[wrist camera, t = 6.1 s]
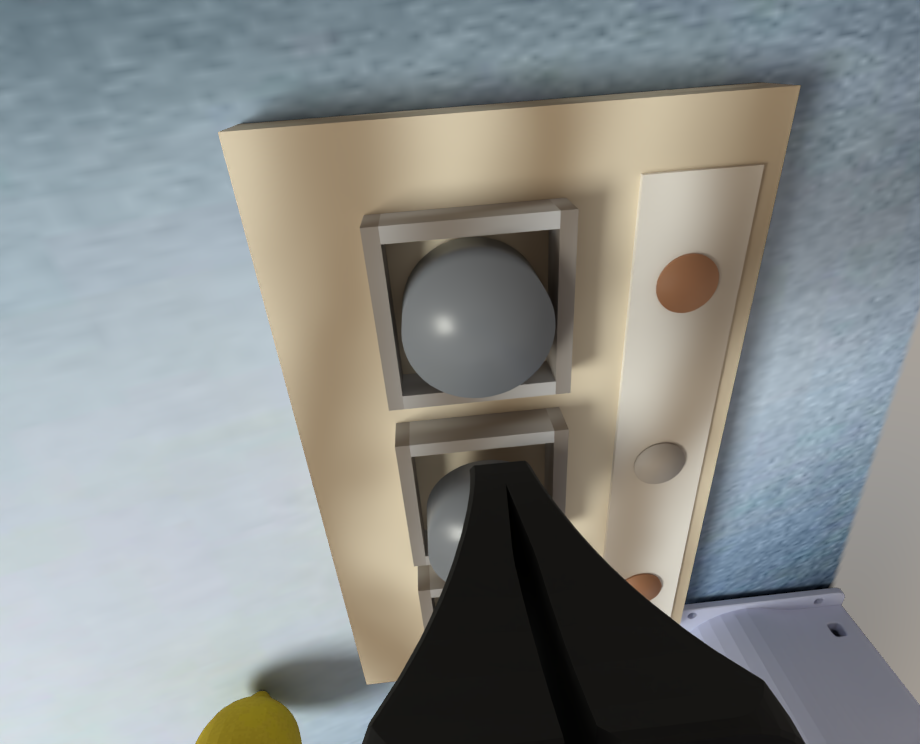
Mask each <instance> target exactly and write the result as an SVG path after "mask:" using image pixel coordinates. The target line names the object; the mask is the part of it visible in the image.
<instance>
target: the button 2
mask: <svg viewBox="0 0 920 744" xmlns="http://www.w3.org/2000/svg"><path fill="white" fill-rule="evenodd" d="M555 327H556V325H555V314H554V308H553V305H552V303H551V300H550V298H549V296H548V294H547V292H546V290H545V288H544V287H543V285H542V283H541V282H540V280H539V278H538V276H537V275H536V273H535V271H534V269H533V268H532V266H531V265H530V263H529V262H528V261H527V259H526V258H525V257H524V256H523V255H522V254H521V253H519V252H518V251H517V250H516V249H514V248H513V247H511V246H509V245H507V244H506V243H503V242H501V241H498V240H495V239H491V238H486V237H464V238H458V239H455V240H451V241H448V242H446V243H444V244H441V245H439V246H438V247H436V248H434V249H433V250H431V251H430V252H429V253H428V254H426V255H425V256H424V257H423V258H422V259H421V260H420V261H419V262H418V263H417V265H416V266H415V267H414V269H413V270H412V272H411V274H410V276H409V277H408V280H407V282H406V285H405V289H404V293H403V302H402V329H401V333H402V343H403V348H404V351H405V354H406V357H407V359H408V361H409V362H410V364H411V366H412V367H413V369H414V370H415V371H416V373H417V374H418V375H419V376H420V377H421V378H422V379H423V380H424V381H426V382H427V383H428V384H429V385H431V386H433V387H434V388H436V389H438V390H440V391H442V392H444V393H447V394H450V395H454V396H458V397H464V398H484V397H491V396H495V395H499V394H502V393H505V392H507V391H510V390H512V389H514V388H516V387H517V386H519V385H521V384H522V383H524V382H525V381H526V380H528V379H529V378H530V377H531V376H532V375H533V374H534V373H535V372H536V371H537V370H538V369H539V368H540V366H541V365H542V364H543V362H544V361H545V359H546V357H547V356H548V354H549V352H550V349H551V347H552V344H553V340H554V336H555Z"/></svg>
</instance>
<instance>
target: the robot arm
mask: <svg viewBox="0 0 920 744" xmlns="http://www.w3.org/2000/svg"><path fill="white" fill-rule="evenodd" d="M844 598H845V595H844V593H843V592H842V591H841V590H840V589H839V588H827V589H818V590H809V591H800V592H791V593H783V594H774V595H765V596H756V597H747V598H738V599H729V600H721V601H712V602H703V603H694V604H685V605H684V609H683V613H682V618H681V622H680V625H679V624H678V623H677V622H676V621H674V620H673V619H672V618H670V617H669V616H668V615H667V614H665V613H664V612H663V611H662V610H660V609H659V608H658V607H656V606H655V605H654V604H653V603H651V602H650V601H649V600H648V599H646V598H645V597H644V596H643V595H642V594H641V593H640V592H638V591H637V590H636V589H635V588H634V587H633V586H632V585H631V584H629V583H628V582H627V581H626V580H625V579H624V578H623V577H622V576H621V575H620V574H619V573H618V572H617V571H615V570H614V569H613V568H612V567H611V566H610V565H609V564H608V563H607V562H606V561H605V560H604V559H603V558H602V557H601V556H600V555H599V553H598V552H597V551H596V550H595V549H594V548H593V547H592V546H591V545H590V544H589V543H588V542H587V540H586V539H585V538H584V537H583V536H582V535H581V534H580V533H579V531H578V530H577V529H576V528H575V527H574V526H573V524H572V523H571V522H570V521H569V519H568V518H567V517H566V516H565V514H564V513H563V512H562V511H561V509H560V508H559V507H558V506H557V504H556V503H555V502H554V500H553V499H552V498H551V496H550V495H549V493H548V492H547V491H546V489H545V488H544V486H543V485H542V483H541V482H540V480H539V479H538V477H537V476H536V474H535V472H534V471H533V469H532V467H531V466H530V464H529V463H528V462H526V461H525V460H524V461H514V462H504V463H494V464H484V465H474V466H473V467H472V468H471V469H470V492H469V500H468V506H467V511H466V516H465V520H464V524H463V529H462V533H461V537H460V540H459V543H458V547H457V550H456V553H455V556H454V560H453V563H452V566H451V569H450V571H449V574H448V577H447V580H446V582H445V585H444V587H443V590H442V592H441V595H440V597H439V599H438V602H437V604H436V606H435V608H434V611H433V613H432V615H431V617H430V619H429V622H428V624H427V626H426V628H425V630H424V632H423V634H422V636H421V638H420V640H419V642H418V643H417V645H416V647H415V649H414V651H413V652H412V654H411V656H410V658H409V660H408V661H407V663H406V665H405V667H404V669H403V670H402V672H401V674H400V676H399V677H398V679H397V681H396V682H395V684H394V686H393V687H392V689H391V690H390V692H389V693H388V695H387V696H386V698H385V699H384V701H383V703H382V704H381V706H380V707H379V709H378V710H377V712H376V713H375V715H374V716H373V718H372V719H371V721H370V723H369V725H368V728H367V731H366V734H365V737H364V740H363V743H362V744H920V705H919V703H918V702H917V701H916V699H915V698H914V697H913V696H912V694H911V693H910V692H909V690H908V689H907V688H906V687H905V685H904V684H903V683H902V682H901V680H900V679H899V678H898V676H897V675H896V674H895V673H894V671H893V670H892V669H891V668H890V666H889V665H888V664H887V663H886V661H885V660H884V659H883V657H882V656H881V655H880V654H879V652H878V651H877V650H876V648H875V647H874V646H873V645H872V643H871V642H870V641H869V640H868V638H867V637H866V636H865V634H864V633H863V632H862V631H861V629H860V628H859V627H858V626H857V624H856V623H855V622H854V621H853V619H852V618H851V617H850V615H849V614H848V613H847V612H846V610H845V609H844V608H843V607H842V602H843V600H844Z"/></svg>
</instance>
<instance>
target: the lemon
mask: <svg viewBox="0 0 920 744" xmlns="http://www.w3.org/2000/svg"><path fill="white" fill-rule="evenodd" d="M195 744H302V742H301V737H300V732H299V727H298V725H297V722H296V720H295V718H294V716H293V715H292V714H291V712H290V711H289V710H288V709H287V707H285V706H284V705H283V704H281V703H280V702H279V701H277V700H274V699H272V698H271V697H270V695H269V694H268V693H267V692H266V691H259V692H257V693H255V694H254V695H253V696H251V697H246V698H243V699H240V700H237V701H235V702H233V703H231V704H230V705H228V706H226V707H225V708H223V709H222V710H221V711H220V712H218V713H217V714H216V716H215V717H214V718H213V719H212V720H211V721H210V722H209V723H208V724H207V726H206V727H205V728H204V730H203V731H202V733H201V734H200V736H199V738H198V739H197V741H196V743H195Z"/></svg>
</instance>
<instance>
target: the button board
mask: <svg viewBox="0 0 920 744" xmlns="http://www.w3.org/2000/svg"><path fill="white" fill-rule="evenodd" d="M800 86H801V85H788V84H774V83H748V84H736V85H723V86H711V87H698V88H686V89H673V90H660V91H648V92H635V93H623V94H610V95H598V96H585V97H573V98H560V99H548V100H535V101H523V102H510V103H498V104H485V105H473V106H460V107H448V108H435V109H423V110H410V111H398V112H385V113H373V114H360V115H348V116H335V117H323V118H310V119H298V120H285V121H273V122H260V123H248V124H238V125H235V126H233V127H230V128H227V129H225V130H222V131H220V132H218V134H219V138H220V142H221V146H222V149H223V153H224V157H225V160H226V164H227V168H228V172H229V175H230V179H231V183H232V186H233V190H234V194H235V198H236V201H237V205H238V209H239V212H240V216H241V220H242V224H243V227H244V231H245V235H246V238H247V242H248V246H249V249H250V253H251V257H252V261H253V264H254V268H255V272H256V275H257V279H258V283H259V287H260V290H261V294H262V298H263V301H264V305H265V309H266V313H267V316H268V320H269V324H270V327H271V331H272V335H273V339H274V342H275V346H276V350H277V353H278V357H279V361H280V364H281V368H282V372H283V376H284V379H285V383H286V387H287V390H288V394H289V398H290V402H291V405H292V409H293V413H294V416H295V420H296V424H297V428H298V431H299V435H300V439H301V442H302V446H303V450H304V454H305V457H306V461H307V465H308V468H309V472H310V476H311V479H312V483H313V487H314V491H315V494H316V498H317V502H318V505H319V509H320V513H321V517H322V520H323V524H324V528H325V531H326V535H327V539H328V543H329V546H330V550H331V554H332V557H333V561H334V565H335V569H336V572H337V576H338V580H339V583H340V587H341V591H342V594H343V598H344V602H345V606H346V609H347V613H348V617H349V620H350V624H351V628H352V632H353V635H354V639H355V643H356V646H357V650H358V654H359V658H360V661H361V665H362V669H363V672H364V676H365V680H366V684H367V685H368V684H376V683H385V682H393V681H397V679H398V677H399V676H400V674H401V672H402V670H403V669H404V667H405V665H406V663H407V661H408V660H409V658H410V656H411V654H412V652H413V651H414V649H415V647H416V645H417V643H418V642H419V640H420V638H421V636H422V634H423V632H424V630H425V628H426V626H427V624H428V622H429V619H430V617H431V615H432V613H433V611H434V608H435V606H436V604H437V602H438V599H439V597H440V595H441V592H442V590H443V587H444V585H445V581H444V580H443V579H441V578H440V577H439V576H438V575H437V574H436V573H435V571H434V570H433V568H432V566H431V564H430V561H429V557H428V532H427V501H428V498H429V495H430V493H431V491H432V489H433V488H434V486H435V485H436V484H437V483H438V481H439V480H440V479H441V478H443V477H444V476H445V475H446V474H448V473H449V472H451V471H452V470H454V469H456V468H458V467H460V466H462V465H465V464H468V463H472V462H475V461H482V460H502V461H508V462H514V461H524V460H525V461H526V462H528V463H529V464H530V466H531V467H532V469H533V471H534V472H535V474H536V476H537V477H538V479H539V480H540V482H541V483H542V485H543V486H544V488H545V489H546V491H547V492H548V493H549V495H550V496H551V498H552V499H553V500H554V502H555V503H556V504H557V506H558V507H559V508H560V509H561V511H562V512H563V513H564V514H565V516H566V517H567V518H568V519H569V521H570V522H571V523H572V524H573V526H574V527H575V528H576V529H577V530H578V531H579V533H580V534H581V535H582V536H583V537H584V538H585V539H586V540H587V542H588V543H589V544H590V545H591V546H592V547H593V548H594V549H595V550H596V551H597V552H598V553H599V555H600V556H601V557H602V558H603V559H604V560H605V561H606V562H607V563H608V564H609V565H610V566H611V567H612V568H613V569H614V570H615V571H617V572H618V573H619V574H620V575H621V576H622V577H623V578H624V579H625V580H626V581H627V582H628V583H629V584H631V585H632V586H633V587H634V588H635V589H636V590H637V591H638V592H640V593H641V594H642V595H643V596H644V597H645V598H646V599H648V600H649V601H650V602H651V603H653V604H654V605H655V606H656V607H658V608H659V609H660V610H662V611H663V612H664V613H665V614H667V615H668V616H669V617H670V618H672V619H673V620H674V621H676V622H677V623H678V624H679V625H680V622H681V618H682V613H683V609H684V604H685V600H686V595H687V591H688V586H689V582H690V577H691V573H692V568H693V564H694V560H695V555H696V551H697V546H698V542H699V537H700V533H701V528H702V524H703V519H704V515H705V510H706V506H707V502H708V497H709V493H710V488H711V484H712V479H713V475H714V470H715V466H716V461H717V457H718V452H719V448H720V443H721V439H722V435H723V430H724V426H725V421H726V417H727V412H728V408H729V403H730V399H731V394H732V390H733V385H734V381H735V377H736V372H737V368H738V363H739V359H740V354H741V350H742V345H743V341H744V336H745V332H746V327H747V323H748V319H749V314H750V310H751V305H752V301H753V296H754V292H755V287H756V283H757V278H758V274H759V269H760V265H761V261H762V256H763V252H764V247H765V243H766V238H767V234H768V229H769V225H770V220H771V216H772V211H773V207H774V203H775V198H776V194H777V189H778V185H779V180H780V176H781V171H782V167H783V162H784V158H785V153H786V149H787V144H788V140H789V136H790V131H791V127H792V122H793V118H794V113H795V109H796V104H797V100H798V95H799V91H800ZM464 237H486V238H491V239H495V240H498V241H501V242H503V243H506V244H507V245H509V246H511V247H513V248H514V249H516V250H517V251H518V252H519V253H521V254H522V255H523V256H524V257H525V258H526V259H527V261H528V262H529V263H530V265H531V266H532V268H533V269H534V271H535V273H536V275H537V276H538V278H539V280H540V282H541V283H542V285H543V287H544V288H545V290H546V292H547V294H548V296H549V298H550V300H551V303H552V305H553V308H554V314H555V325H556V327H555V336H554V340H553V344H552V347H551V349H550V352H549V354H548V356H547V357H546V359H545V361H544V362H543V364H542V365H541V366H540V368H539V369H538V370H537V371H536V372H535V373H534V374H533V375H532V376H531V377H530V378H529V379H528V380H526V381H525V382H524V383H522V384H521V385H519V386H517V387H516V388H514V389H512V390H510V391H507V392H505V393H502V394H499V395H495V396H491V397H484V398H464V397H458V396H454V395H450V394H447V393H444V392H442V391H440V390H438V389H436V388H434V387H433V386H431V385H429V384H428V383H427V382H426V381H424V380H423V379H422V378H421V377H420V376H419V375H418V374H417V373H416V371H415V370H414V369H413V367H412V366H411V364H410V362H409V361H408V359H407V357H406V354H405V351H404V348H403V343H402V333H401V329H402V302H403V293H404V289H405V285H406V282H407V280H408V277H409V276H410V274H411V272H412V270H413V269H414V267H415V266H416V265H417V263H418V262H419V261H420V260H421V259H422V258H423V257H424V256H425V255H426V254H428V253H429V252H430V251H431V250H433V249H434V248H436V247H438V246H439V245H441V244H444V243H446V242H448V241H451V240H455V239H458V238H464Z"/></svg>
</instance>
